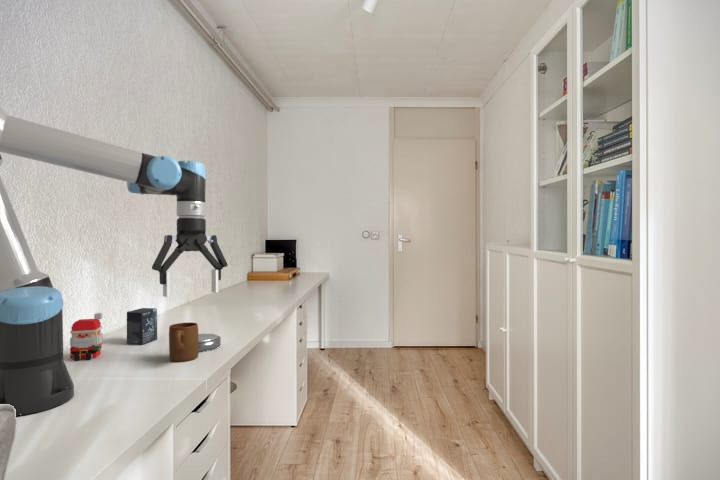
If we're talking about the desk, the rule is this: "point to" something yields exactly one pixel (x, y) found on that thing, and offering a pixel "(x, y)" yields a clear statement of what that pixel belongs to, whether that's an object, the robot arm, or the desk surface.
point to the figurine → (86, 338)
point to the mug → (183, 342)
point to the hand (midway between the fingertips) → (191, 294)
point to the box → (141, 326)
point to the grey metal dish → (208, 342)
